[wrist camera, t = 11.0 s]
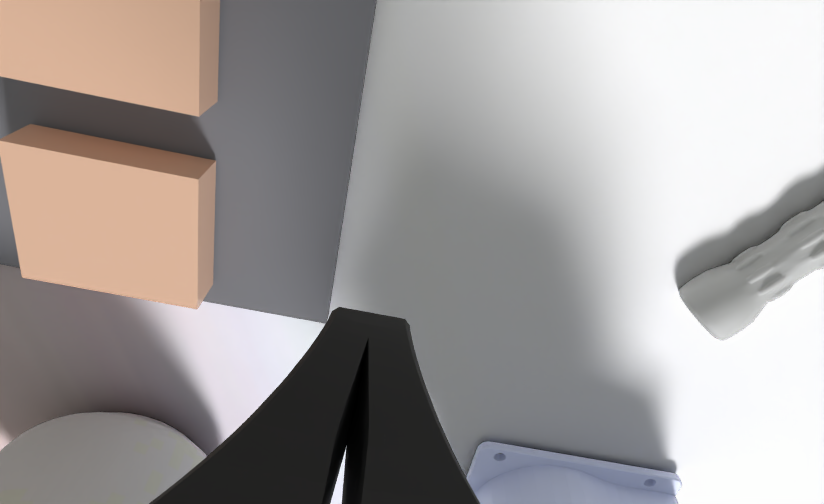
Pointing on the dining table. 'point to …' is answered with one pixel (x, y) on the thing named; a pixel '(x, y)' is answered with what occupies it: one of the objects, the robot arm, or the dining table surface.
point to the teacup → (95, 460)
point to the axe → (756, 276)
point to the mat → (248, 145)
